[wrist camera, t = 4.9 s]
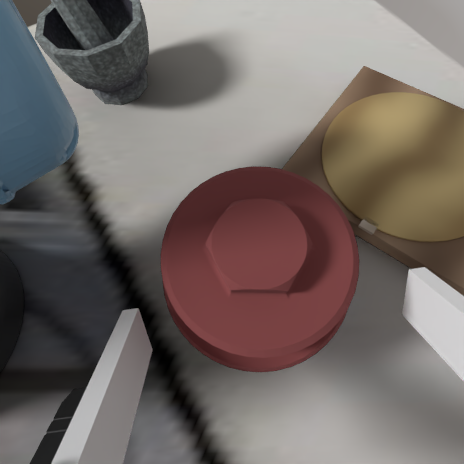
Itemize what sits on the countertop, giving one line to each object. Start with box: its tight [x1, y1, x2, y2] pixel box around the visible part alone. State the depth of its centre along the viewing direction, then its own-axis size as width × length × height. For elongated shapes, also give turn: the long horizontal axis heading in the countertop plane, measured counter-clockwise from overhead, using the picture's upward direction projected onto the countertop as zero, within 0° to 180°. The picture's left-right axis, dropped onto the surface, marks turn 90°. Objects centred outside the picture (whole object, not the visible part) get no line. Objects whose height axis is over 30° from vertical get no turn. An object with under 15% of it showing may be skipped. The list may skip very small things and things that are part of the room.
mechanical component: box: [161, 167, 359, 372], centre depth 16 cm, size 12×10×10 cm
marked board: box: [282, 66, 464, 296], centre depth 24 cm, size 17×16×2 cm
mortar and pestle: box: [35, 0, 149, 105], centre depth 26 cm, size 11×9×12 cm
